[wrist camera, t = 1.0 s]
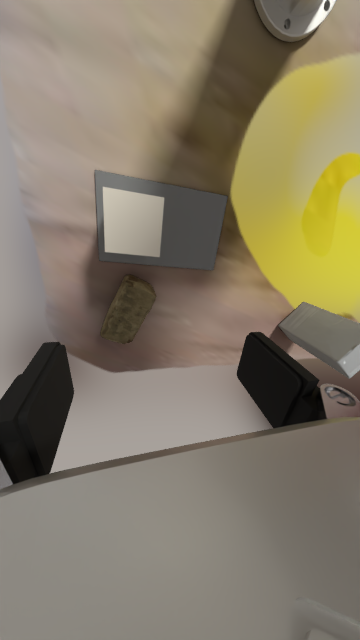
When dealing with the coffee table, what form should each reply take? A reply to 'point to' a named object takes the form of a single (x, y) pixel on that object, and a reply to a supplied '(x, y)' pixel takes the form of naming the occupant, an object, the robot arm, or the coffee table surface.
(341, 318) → the skincare box
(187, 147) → the coffee table surface
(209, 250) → the rubber mat
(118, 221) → the cream rectangular block
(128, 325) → the stone block
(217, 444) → the robot arm
